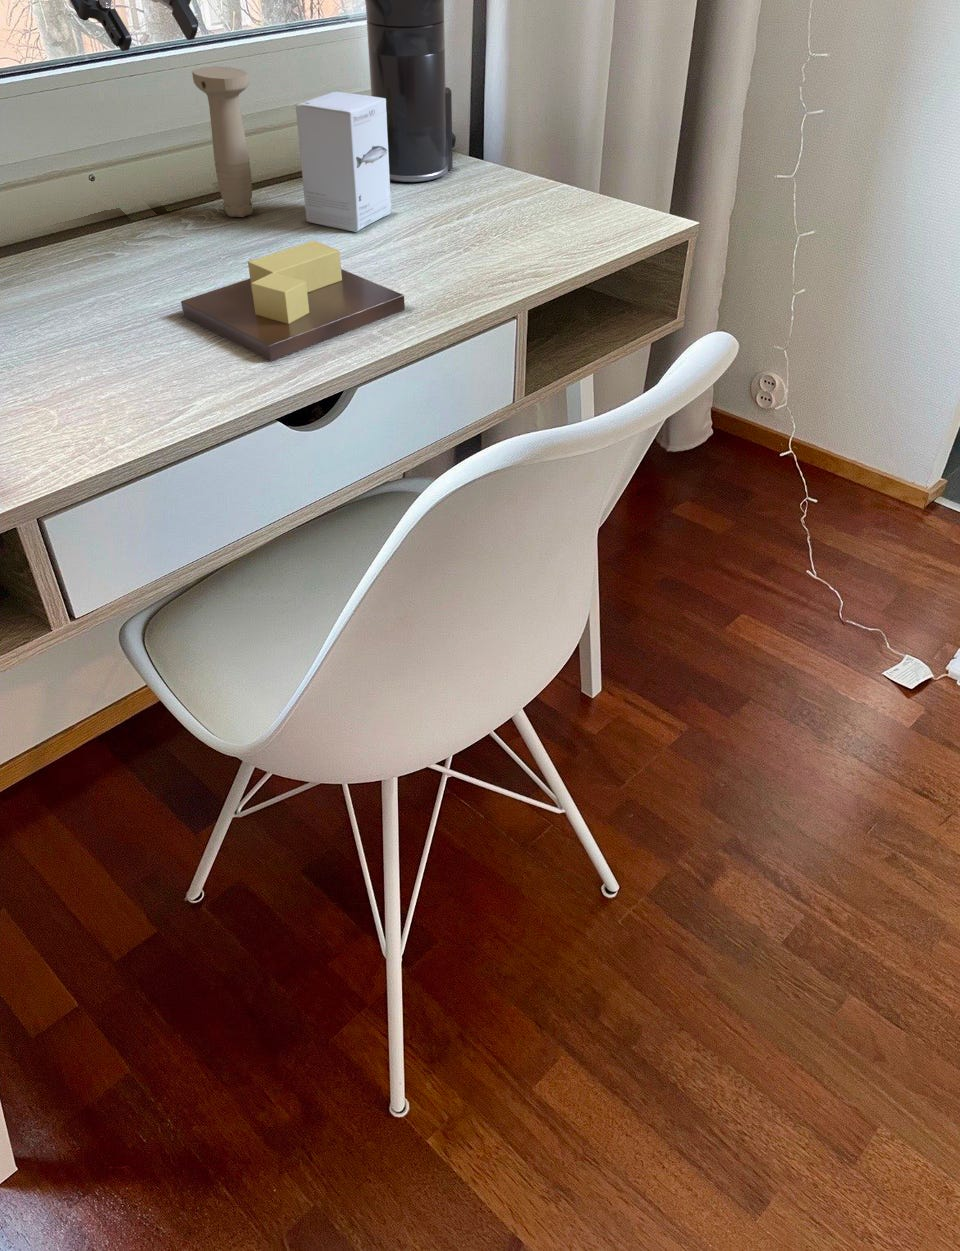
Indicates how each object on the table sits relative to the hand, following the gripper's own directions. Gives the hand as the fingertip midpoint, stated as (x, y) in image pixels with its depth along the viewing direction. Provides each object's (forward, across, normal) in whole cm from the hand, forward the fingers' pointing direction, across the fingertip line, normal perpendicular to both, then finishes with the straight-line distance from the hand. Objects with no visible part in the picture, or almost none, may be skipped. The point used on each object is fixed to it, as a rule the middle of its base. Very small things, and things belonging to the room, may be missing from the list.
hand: (161, 40), depth 118 cm
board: (+39, -13, -16) cm, 44 cm away
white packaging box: (+27, +8, -3) cm, 29 cm away
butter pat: (+40, -16, -18) cm, 46 cm away
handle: (+20, 0, +4) cm, 20 cm away
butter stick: (+37, -11, -15) cm, 41 cm away
